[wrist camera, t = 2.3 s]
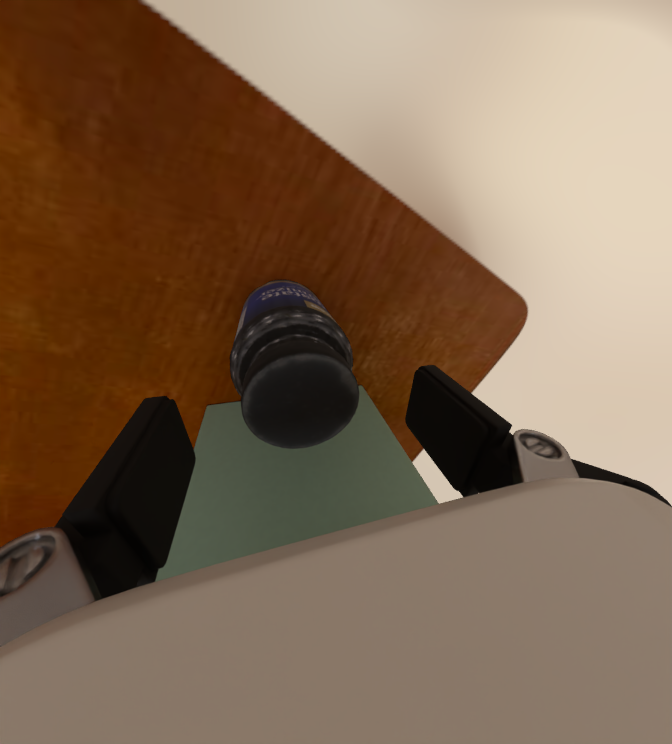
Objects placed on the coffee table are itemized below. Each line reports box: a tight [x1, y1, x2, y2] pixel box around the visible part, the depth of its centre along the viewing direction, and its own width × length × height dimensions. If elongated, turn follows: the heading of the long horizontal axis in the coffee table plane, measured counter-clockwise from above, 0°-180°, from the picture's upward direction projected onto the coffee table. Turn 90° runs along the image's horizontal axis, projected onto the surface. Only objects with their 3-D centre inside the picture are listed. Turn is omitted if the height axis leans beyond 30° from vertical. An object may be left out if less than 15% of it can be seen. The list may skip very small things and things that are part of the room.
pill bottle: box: [230, 280, 359, 449], centre depth 14 cm, size 6×6×11 cm
